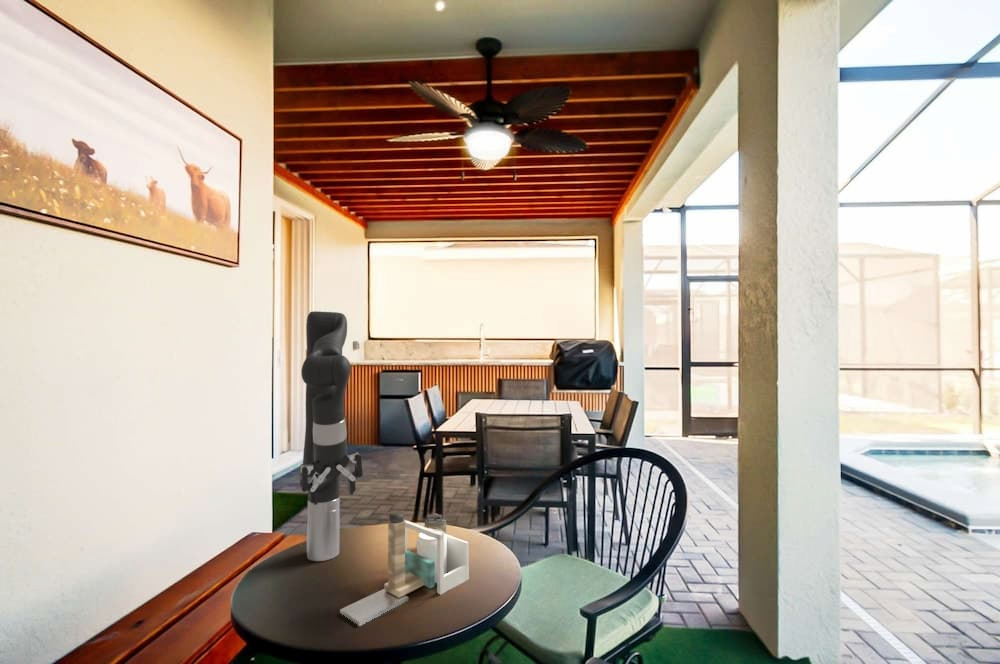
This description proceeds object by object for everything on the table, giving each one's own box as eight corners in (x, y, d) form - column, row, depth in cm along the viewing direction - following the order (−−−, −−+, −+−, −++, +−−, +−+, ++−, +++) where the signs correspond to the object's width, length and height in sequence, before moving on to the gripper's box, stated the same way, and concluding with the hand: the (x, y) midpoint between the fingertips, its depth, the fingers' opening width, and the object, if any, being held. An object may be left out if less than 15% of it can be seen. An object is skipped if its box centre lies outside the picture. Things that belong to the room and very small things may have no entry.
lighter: (447, 544, 150) (447, 512, 151) (446, 549, 146) (445, 517, 147) (425, 544, 150) (425, 513, 151) (423, 549, 146) (423, 517, 147)
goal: (400, 575, 129) (400, 520, 130) (429, 562, 137) (429, 510, 138) (440, 595, 119) (440, 535, 120) (468, 579, 127) (468, 523, 128)
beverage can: (422, 589, 122) (422, 542, 123) (412, 576, 129) (412, 532, 130) (451, 581, 126) (451, 536, 126) (439, 569, 133) (439, 526, 134)
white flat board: (340, 613, 111) (340, 609, 111) (388, 590, 121) (388, 586, 121) (359, 626, 106) (359, 621, 106) (408, 600, 116) (408, 596, 116)
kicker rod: (377, 587, 121) (378, 511, 121) (407, 573, 128) (407, 502, 129) (404, 601, 113) (404, 521, 114) (434, 586, 121) (434, 510, 122)
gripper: (355, 425, 118) (357, 483, 121) (295, 437, 110) (299, 499, 114) (364, 436, 112) (366, 497, 115) (301, 450, 104) (305, 514, 108)
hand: (333, 498), depth 115 cm, fingers open, 8 cm apart
